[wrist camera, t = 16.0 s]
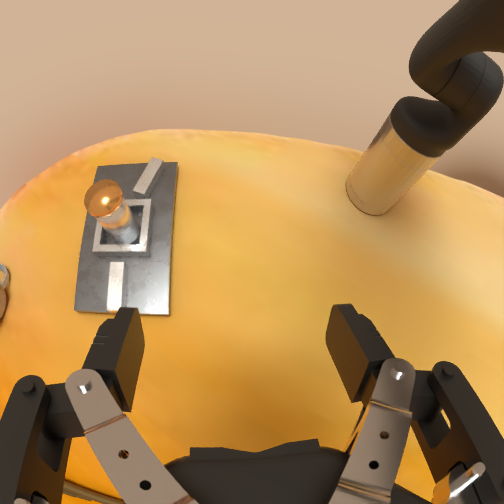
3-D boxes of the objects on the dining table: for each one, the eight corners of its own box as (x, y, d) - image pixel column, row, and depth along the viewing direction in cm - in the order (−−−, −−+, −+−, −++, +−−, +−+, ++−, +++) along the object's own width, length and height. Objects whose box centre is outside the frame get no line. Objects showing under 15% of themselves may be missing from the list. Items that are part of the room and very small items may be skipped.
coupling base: (100, 171, 46) (94, 159, 43) (178, 167, 48) (176, 154, 44) (78, 312, 38) (68, 307, 35) (169, 315, 39) (165, 311, 36)
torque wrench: (199, 502, 32) (197, 523, 30) (-3, 431, 28) (-1, 453, 27) (199, 518, 27) (196, 539, 26) (-18, 437, 24) (-15, 461, 22)
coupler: (136, 211, 42) (117, 173, 33) (144, 239, 41) (123, 205, 32) (107, 222, 41) (82, 187, 32) (114, 251, 40) (87, 220, 31)
